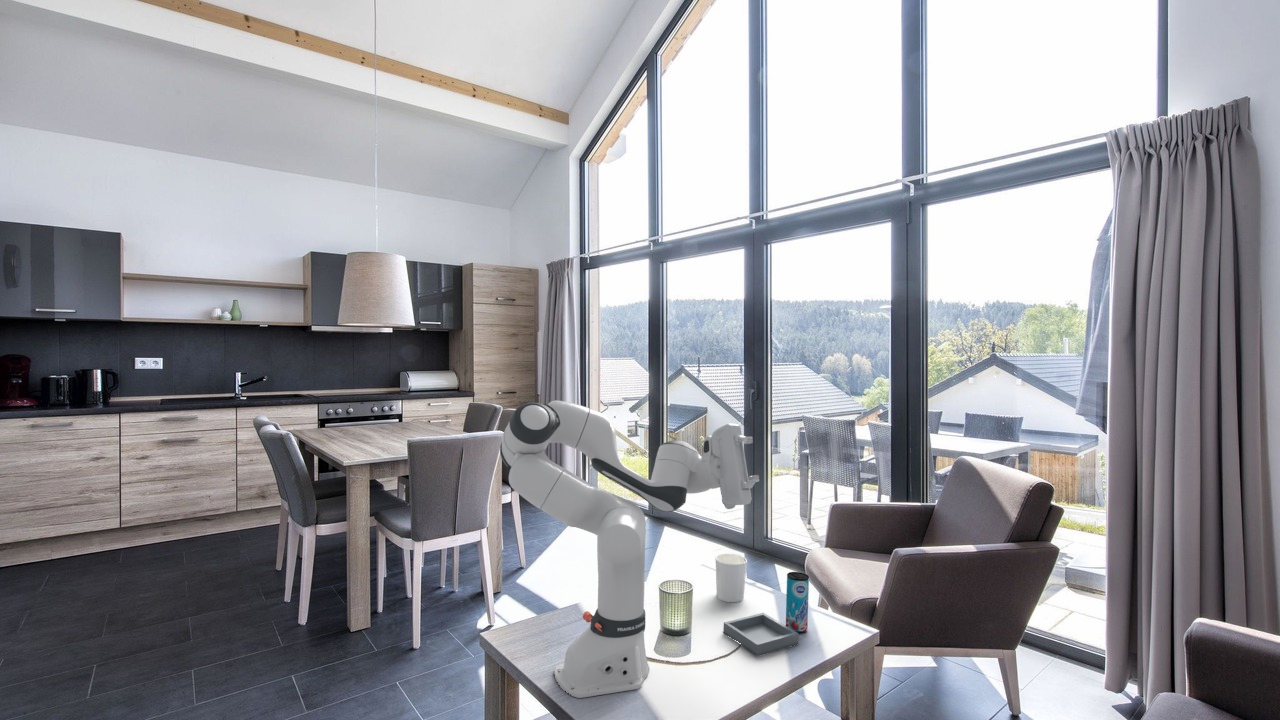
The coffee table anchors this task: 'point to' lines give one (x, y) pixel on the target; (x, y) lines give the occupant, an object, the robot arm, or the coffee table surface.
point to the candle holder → (730, 577)
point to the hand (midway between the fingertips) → (753, 458)
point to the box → (761, 634)
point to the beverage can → (797, 601)
